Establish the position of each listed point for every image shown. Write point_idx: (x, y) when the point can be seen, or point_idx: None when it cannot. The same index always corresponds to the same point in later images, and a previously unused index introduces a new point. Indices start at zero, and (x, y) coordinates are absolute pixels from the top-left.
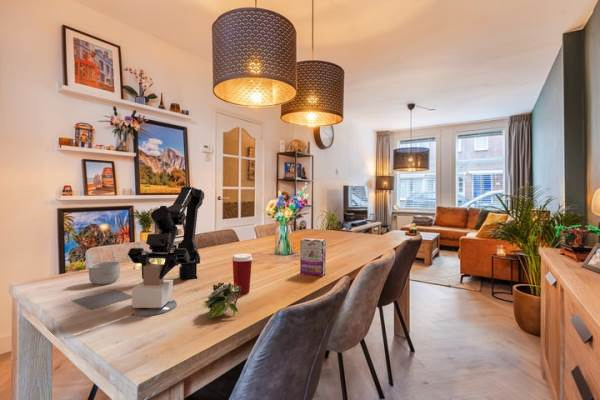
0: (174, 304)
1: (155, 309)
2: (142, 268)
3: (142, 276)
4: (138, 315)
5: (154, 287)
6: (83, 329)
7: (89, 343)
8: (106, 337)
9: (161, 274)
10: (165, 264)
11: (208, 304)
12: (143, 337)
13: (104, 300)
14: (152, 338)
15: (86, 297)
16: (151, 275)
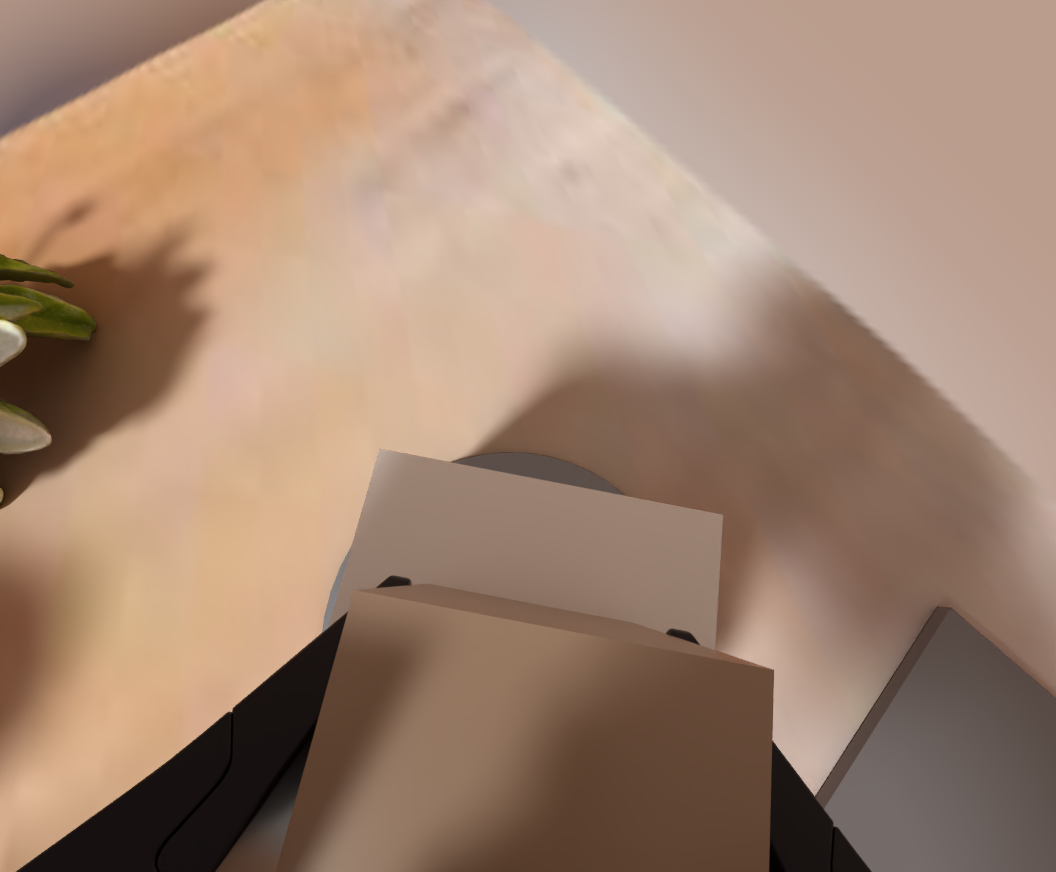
0: None
1: None
2: (799, 791)
3: (689, 638)
4: (572, 464)
5: (470, 498)
6: (808, 331)
7: (690, 184)
8: (641, 223)
9: None
10: (191, 817)
11: (3, 301)
12: (462, 189)
13: (992, 853)
14: (416, 172)
15: None
16: (540, 611)
